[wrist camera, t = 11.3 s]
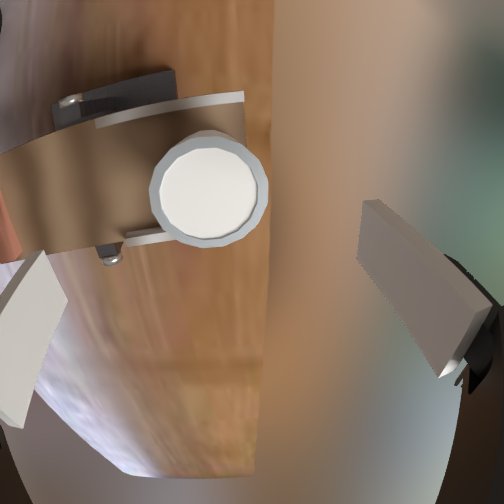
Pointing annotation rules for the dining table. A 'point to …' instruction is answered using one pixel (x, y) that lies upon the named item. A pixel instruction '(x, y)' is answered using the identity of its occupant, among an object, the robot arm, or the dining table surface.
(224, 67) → the dining table surface
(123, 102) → the stand
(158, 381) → the dining table surface
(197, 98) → the beam
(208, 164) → the shot glass
